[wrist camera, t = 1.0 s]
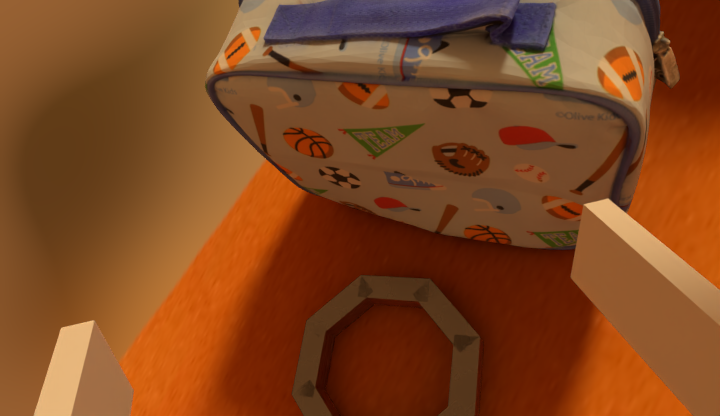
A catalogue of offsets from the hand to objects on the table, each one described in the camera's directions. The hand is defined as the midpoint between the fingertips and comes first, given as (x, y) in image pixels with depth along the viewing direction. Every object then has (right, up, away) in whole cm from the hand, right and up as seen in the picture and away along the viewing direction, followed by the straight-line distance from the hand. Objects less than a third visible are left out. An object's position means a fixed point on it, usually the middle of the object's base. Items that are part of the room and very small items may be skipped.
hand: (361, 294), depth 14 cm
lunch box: (+9, +4, +30) cm, 31 cm away
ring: (+2, -10, +25) cm, 27 cm away
